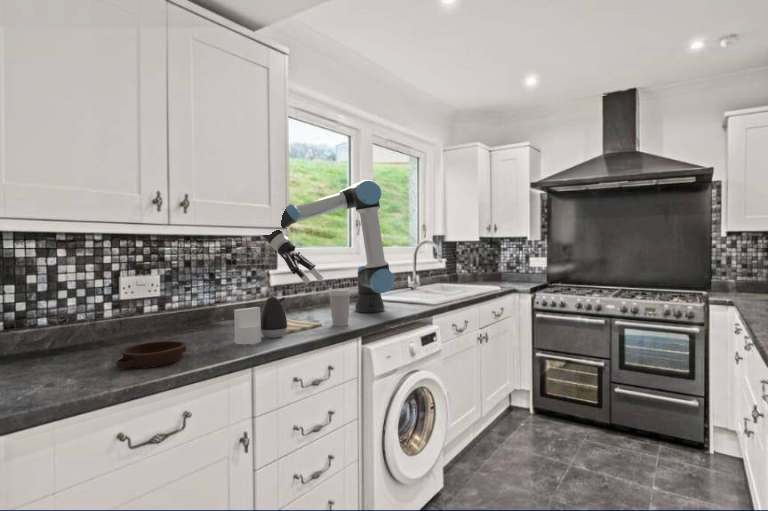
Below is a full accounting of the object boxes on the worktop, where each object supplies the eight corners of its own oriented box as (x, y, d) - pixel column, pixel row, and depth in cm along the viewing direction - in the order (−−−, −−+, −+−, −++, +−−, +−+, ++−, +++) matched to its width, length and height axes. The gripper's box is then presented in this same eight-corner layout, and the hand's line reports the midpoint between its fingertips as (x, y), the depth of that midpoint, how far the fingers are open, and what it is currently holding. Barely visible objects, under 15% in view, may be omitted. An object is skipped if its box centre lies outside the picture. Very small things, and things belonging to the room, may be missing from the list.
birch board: (289, 321, 203) (289, 319, 203) (322, 325, 191) (322, 323, 191) (252, 329, 187) (252, 326, 187) (286, 334, 175) (286, 331, 175)
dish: (205, 357, 142) (204, 341, 142) (140, 376, 122) (139, 357, 122) (166, 352, 149) (166, 337, 149) (99, 369, 129) (99, 352, 129)
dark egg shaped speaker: (293, 336, 170) (292, 296, 170) (269, 341, 163) (268, 298, 163) (278, 333, 177) (277, 294, 177) (254, 337, 170) (253, 296, 169)
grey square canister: (253, 338, 168) (252, 306, 168) (265, 341, 162) (265, 308, 161) (230, 342, 162) (229, 308, 162) (242, 346, 155) (241, 311, 155)
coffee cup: (353, 322, 198) (352, 288, 197) (349, 326, 188) (348, 290, 188) (331, 322, 199) (331, 288, 198) (326, 326, 189) (326, 290, 189)
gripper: (291, 251, 212) (321, 284, 208) (263, 252, 188) (296, 289, 184) (301, 240, 210) (332, 273, 207) (274, 239, 186) (308, 276, 183)
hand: (315, 280), depth 195 cm, fingers open, 13 cm apart
